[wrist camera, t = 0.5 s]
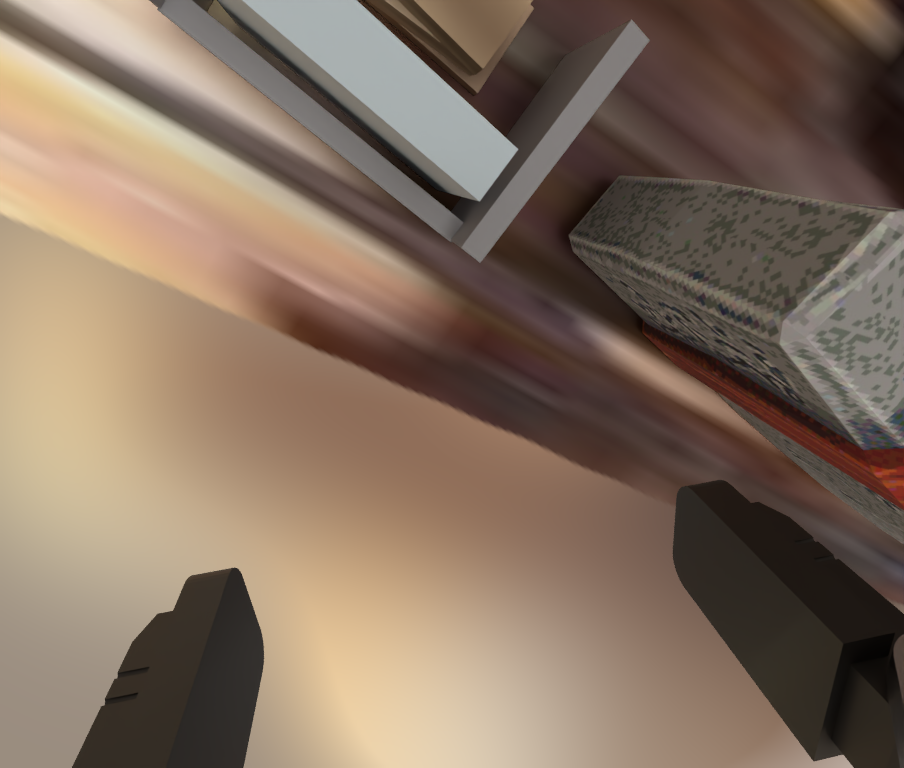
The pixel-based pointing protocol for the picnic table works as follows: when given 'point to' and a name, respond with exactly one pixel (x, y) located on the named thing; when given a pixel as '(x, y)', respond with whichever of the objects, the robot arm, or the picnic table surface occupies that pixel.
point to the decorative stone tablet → (773, 317)
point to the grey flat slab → (381, 88)
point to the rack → (534, 135)
